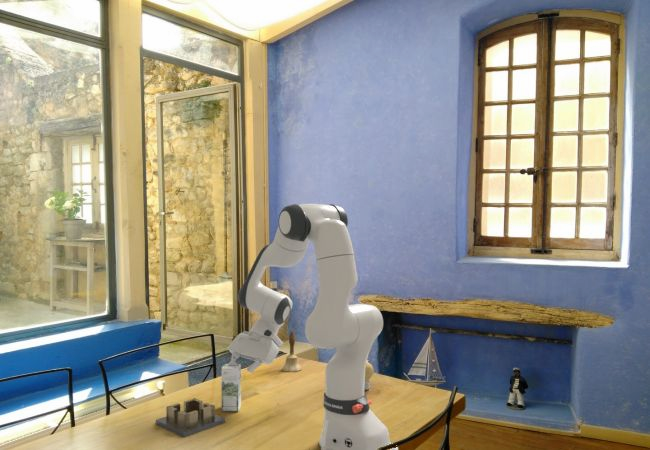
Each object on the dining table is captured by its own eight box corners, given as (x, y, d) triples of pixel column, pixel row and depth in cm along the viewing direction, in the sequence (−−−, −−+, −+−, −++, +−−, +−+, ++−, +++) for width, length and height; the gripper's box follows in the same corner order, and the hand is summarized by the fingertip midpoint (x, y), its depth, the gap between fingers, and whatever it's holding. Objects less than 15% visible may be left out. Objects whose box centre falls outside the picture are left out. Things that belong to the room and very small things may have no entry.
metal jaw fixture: (225, 422, 165) (225, 405, 165) (184, 437, 154) (184, 419, 153) (196, 410, 175) (196, 394, 175) (155, 423, 163) (155, 407, 163)
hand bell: (280, 366, 226) (281, 329, 225) (300, 366, 227) (300, 328, 227) (282, 372, 217) (283, 333, 217) (302, 371, 219) (303, 333, 219)
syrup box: (241, 405, 179) (241, 363, 179) (238, 412, 173) (238, 368, 173) (224, 405, 179) (224, 363, 179) (220, 412, 173) (221, 368, 173)
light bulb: (372, 392, 194) (372, 365, 193) (355, 391, 195) (355, 364, 195) (374, 386, 200) (374, 360, 200) (357, 385, 201) (357, 359, 201)
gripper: (237, 325, 191) (215, 357, 184) (277, 334, 178) (255, 369, 171) (247, 335, 195) (225, 367, 187) (286, 344, 181) (265, 380, 174)
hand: (240, 368), depth 179 cm, fingers open, 8 cm apart
